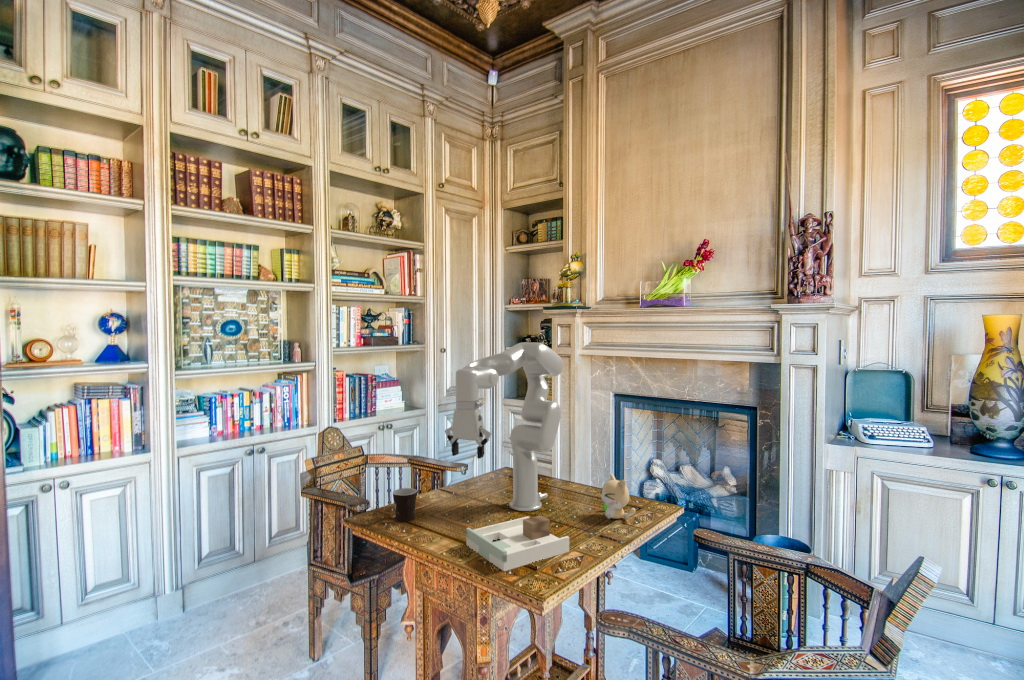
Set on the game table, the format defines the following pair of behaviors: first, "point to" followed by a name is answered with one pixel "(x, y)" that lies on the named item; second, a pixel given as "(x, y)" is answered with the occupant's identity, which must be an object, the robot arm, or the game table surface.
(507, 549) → the board
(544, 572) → the game table surface
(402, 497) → the coffee mug
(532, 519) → the walnut block
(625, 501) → the kitten
